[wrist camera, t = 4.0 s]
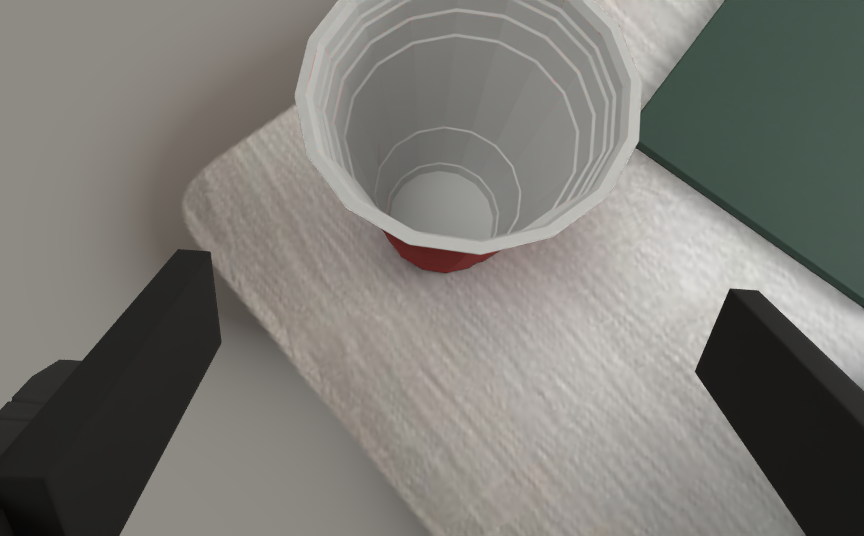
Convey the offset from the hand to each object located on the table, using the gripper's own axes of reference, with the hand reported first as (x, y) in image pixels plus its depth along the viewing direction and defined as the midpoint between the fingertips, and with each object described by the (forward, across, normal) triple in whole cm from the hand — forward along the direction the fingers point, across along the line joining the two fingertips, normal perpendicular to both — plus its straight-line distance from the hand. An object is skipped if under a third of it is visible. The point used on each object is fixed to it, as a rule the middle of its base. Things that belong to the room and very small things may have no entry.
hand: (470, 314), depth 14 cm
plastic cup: (+14, 0, -4) cm, 15 cm away
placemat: (+21, +22, +3) cm, 31 cm away
